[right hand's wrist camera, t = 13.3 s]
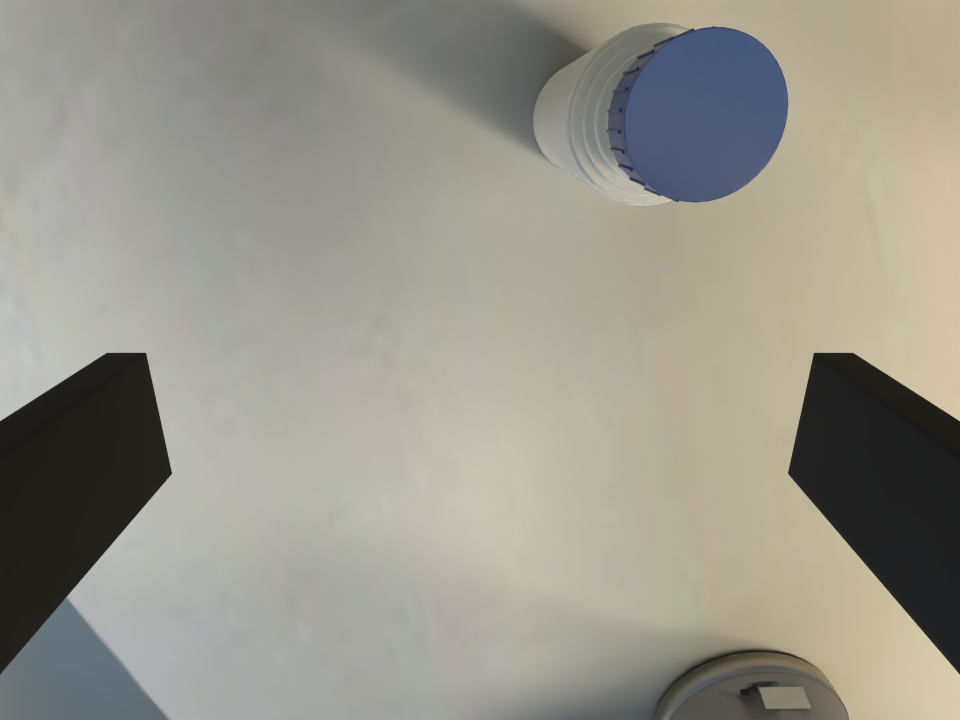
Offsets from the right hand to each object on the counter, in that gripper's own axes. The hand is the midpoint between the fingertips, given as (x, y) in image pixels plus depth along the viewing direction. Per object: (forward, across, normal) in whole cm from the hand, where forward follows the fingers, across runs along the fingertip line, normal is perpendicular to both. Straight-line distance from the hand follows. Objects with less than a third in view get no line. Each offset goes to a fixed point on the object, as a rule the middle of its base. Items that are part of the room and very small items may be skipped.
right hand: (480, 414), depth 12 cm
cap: (+7, +6, +6) cm, 10 cm away
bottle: (+26, +6, +5) cm, 27 cm away
